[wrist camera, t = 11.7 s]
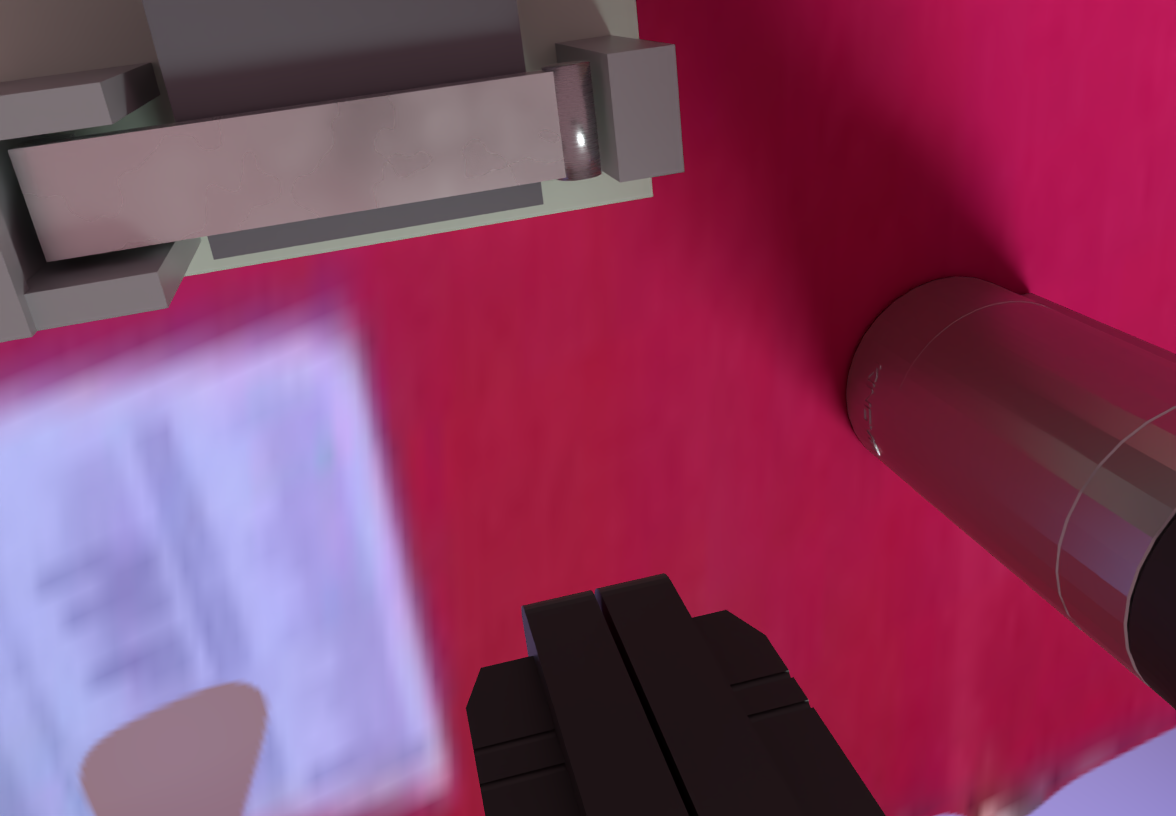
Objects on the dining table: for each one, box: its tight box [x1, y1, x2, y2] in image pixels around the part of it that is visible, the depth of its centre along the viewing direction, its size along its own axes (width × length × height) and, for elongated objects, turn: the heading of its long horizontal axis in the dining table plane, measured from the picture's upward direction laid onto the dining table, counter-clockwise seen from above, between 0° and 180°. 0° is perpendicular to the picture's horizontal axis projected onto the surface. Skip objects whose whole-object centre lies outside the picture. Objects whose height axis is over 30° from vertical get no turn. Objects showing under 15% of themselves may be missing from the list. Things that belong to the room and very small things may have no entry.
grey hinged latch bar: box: [8, 61, 602, 262], centre depth 28 cm, size 16×3×2 cm, turn 97°
